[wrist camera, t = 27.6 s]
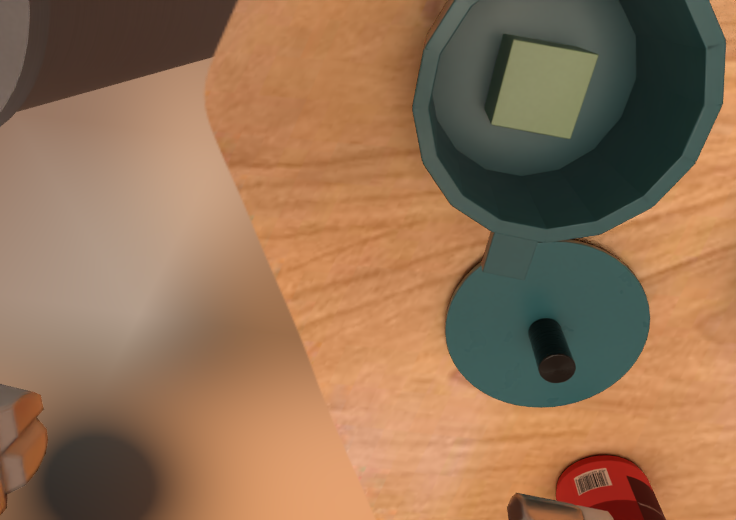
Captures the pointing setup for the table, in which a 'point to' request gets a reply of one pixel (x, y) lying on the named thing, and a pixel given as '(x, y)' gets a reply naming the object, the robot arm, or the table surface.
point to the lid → (549, 326)
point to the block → (539, 86)
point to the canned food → (609, 488)
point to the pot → (593, 126)
